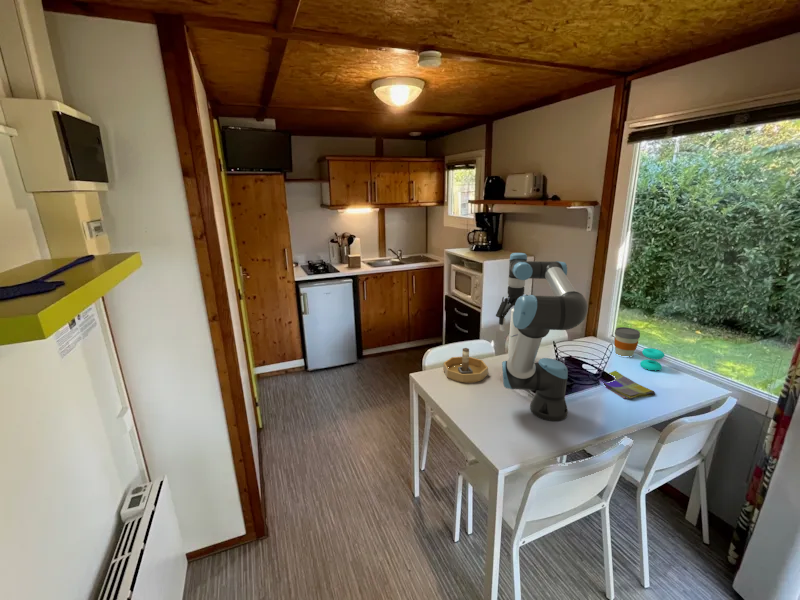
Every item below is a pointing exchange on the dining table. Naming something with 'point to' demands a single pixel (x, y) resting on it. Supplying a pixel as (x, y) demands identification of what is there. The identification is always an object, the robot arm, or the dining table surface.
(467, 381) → the octagonal shallow tray
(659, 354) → the donuts
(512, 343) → the container
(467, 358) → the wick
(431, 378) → the dining table surface
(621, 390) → the dish towel
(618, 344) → the reusable coffee cup
